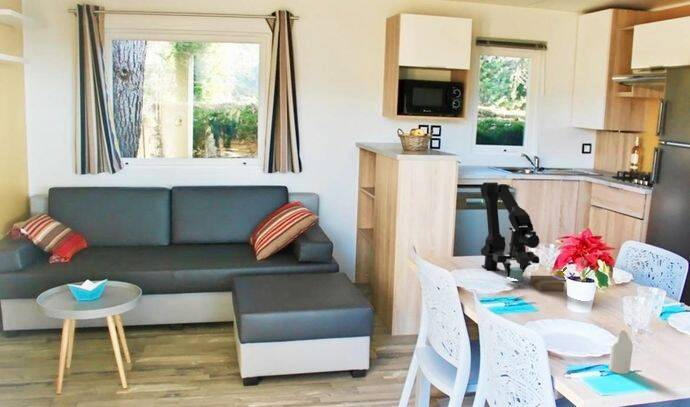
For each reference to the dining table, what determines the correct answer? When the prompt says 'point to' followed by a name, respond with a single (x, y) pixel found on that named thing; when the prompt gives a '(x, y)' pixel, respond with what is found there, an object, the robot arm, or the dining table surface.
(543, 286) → the walnut block
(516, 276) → the teal cube
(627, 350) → the beige bottle
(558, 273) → the supplement bottle
